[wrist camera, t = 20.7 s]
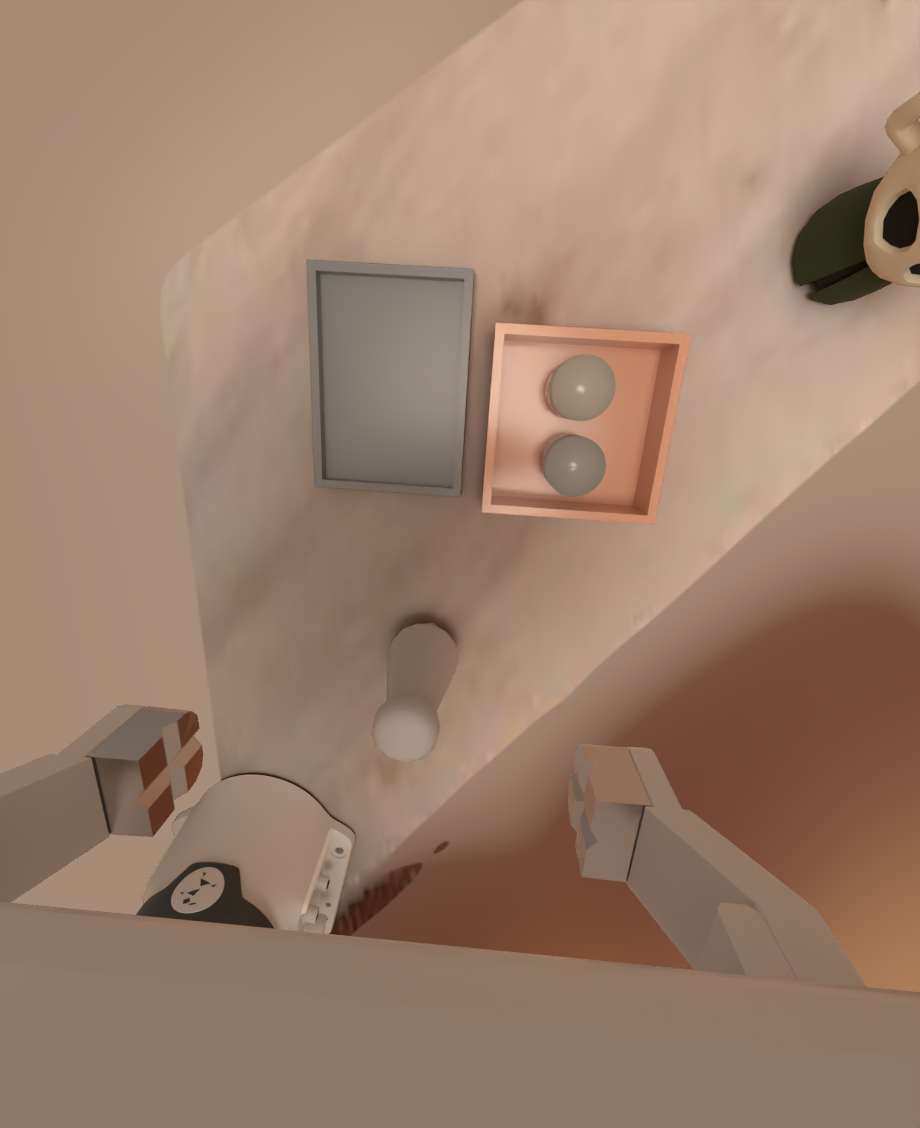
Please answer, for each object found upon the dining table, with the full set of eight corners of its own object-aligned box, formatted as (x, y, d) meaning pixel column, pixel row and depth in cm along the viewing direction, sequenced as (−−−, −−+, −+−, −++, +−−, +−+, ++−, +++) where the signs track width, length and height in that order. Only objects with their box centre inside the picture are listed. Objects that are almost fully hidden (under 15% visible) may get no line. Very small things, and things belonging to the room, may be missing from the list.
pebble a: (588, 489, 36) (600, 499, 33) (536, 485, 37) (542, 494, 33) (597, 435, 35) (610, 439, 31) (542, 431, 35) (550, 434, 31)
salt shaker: (410, 680, 43) (380, 789, 31) (382, 626, 42) (339, 720, 29) (470, 658, 42) (463, 763, 30) (443, 603, 41) (425, 689, 28)
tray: (461, 493, 38) (460, 497, 36) (320, 484, 38) (314, 486, 37) (474, 274, 33) (473, 268, 31) (313, 265, 33) (306, 259, 32)
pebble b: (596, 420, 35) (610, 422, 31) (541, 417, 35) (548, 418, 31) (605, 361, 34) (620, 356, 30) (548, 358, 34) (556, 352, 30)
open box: (637, 512, 37) (654, 524, 34) (481, 501, 38) (481, 512, 34) (668, 342, 34) (691, 334, 30) (494, 331, 34) (495, 322, 30)
